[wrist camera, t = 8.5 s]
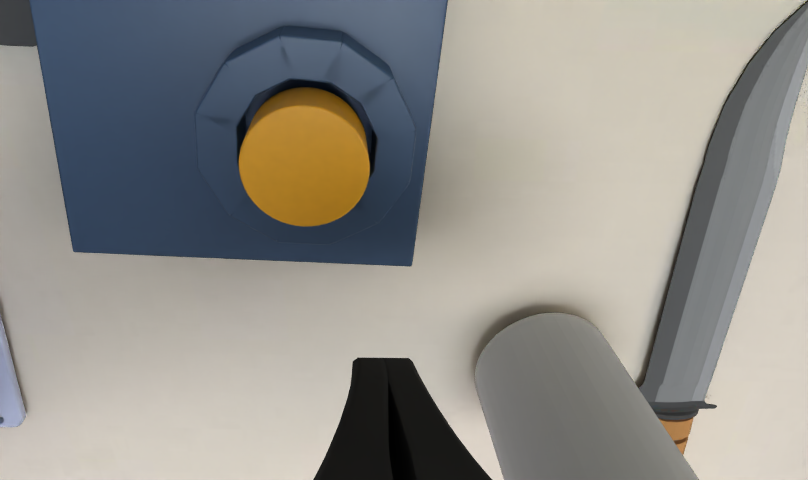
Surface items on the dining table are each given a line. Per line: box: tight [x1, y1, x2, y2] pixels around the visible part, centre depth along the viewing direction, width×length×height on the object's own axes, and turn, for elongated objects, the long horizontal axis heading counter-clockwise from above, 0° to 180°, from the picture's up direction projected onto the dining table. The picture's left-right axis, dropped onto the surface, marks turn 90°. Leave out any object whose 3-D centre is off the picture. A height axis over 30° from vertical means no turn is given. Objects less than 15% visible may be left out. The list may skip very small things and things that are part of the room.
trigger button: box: [239, 87, 370, 226], centre depth 17 cm, size 4×4×2 cm
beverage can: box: [475, 313, 699, 480], centre depth 22 cm, size 6×6×12 cm
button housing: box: [29, 0, 448, 266], centre depth 19 cm, size 12×10×4 cm
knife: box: [639, 2, 808, 455], centre depth 27 cm, size 30×1×5 cm
